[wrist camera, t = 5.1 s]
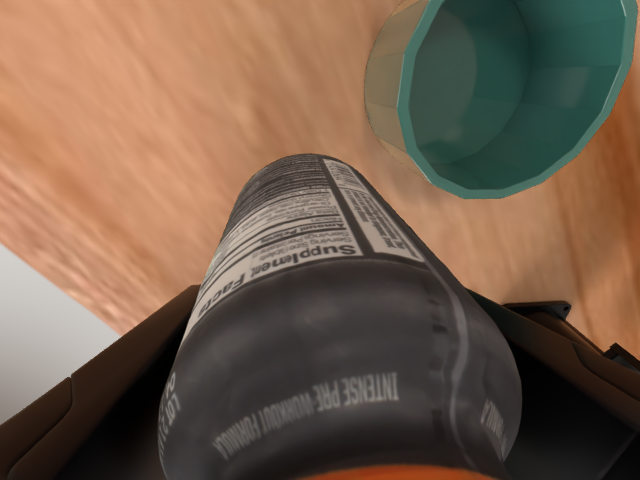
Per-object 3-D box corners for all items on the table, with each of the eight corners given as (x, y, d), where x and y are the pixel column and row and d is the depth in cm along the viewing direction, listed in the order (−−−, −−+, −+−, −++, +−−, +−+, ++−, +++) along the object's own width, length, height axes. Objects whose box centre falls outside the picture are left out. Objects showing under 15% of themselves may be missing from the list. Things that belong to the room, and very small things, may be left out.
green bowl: (556, -19, 16) (687, -65, 11) (500, 168, 21) (574, 198, 16) (374, -33, 15) (423, -93, 10) (356, 168, 20) (384, 200, 15)
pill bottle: (370, 283, 14) (579, 760, 4) (239, 287, 14) (117, 867, 4) (388, 151, 12) (1090, 613, 2) (225, 148, 11) (-454, 943, 1)
